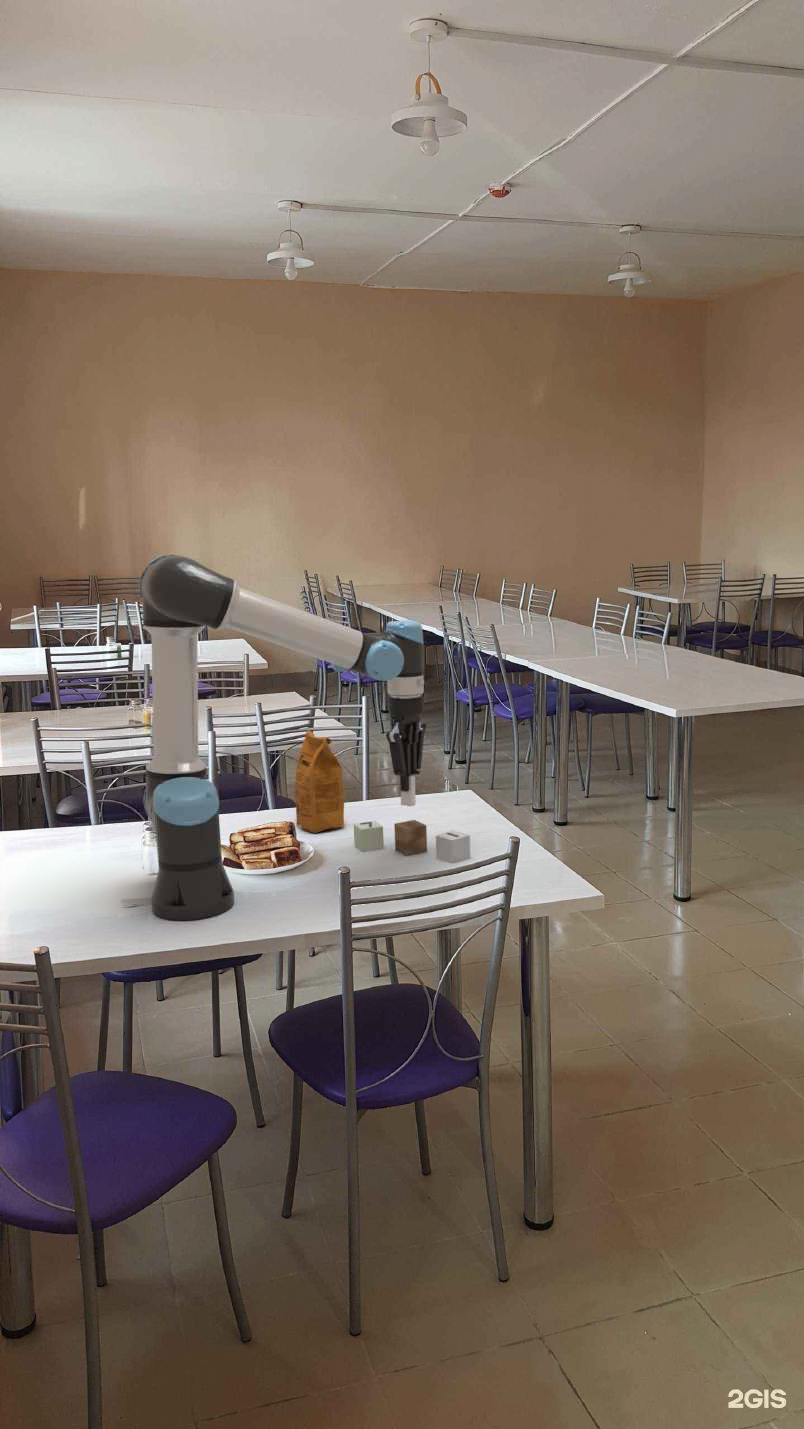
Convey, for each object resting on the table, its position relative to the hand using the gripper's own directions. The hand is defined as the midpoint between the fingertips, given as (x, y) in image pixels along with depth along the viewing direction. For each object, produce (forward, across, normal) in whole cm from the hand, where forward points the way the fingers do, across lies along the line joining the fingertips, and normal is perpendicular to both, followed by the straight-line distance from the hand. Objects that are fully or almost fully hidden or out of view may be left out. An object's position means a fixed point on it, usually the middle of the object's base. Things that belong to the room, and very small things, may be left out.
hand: (408, 804), depth 225 cm
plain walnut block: (+10, 0, 0) cm, 10 cm away
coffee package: (+11, +8, +29) cm, 32 cm away
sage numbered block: (+11, -1, +10) cm, 14 cm away
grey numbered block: (+10, 0, -11) cm, 15 cm away
